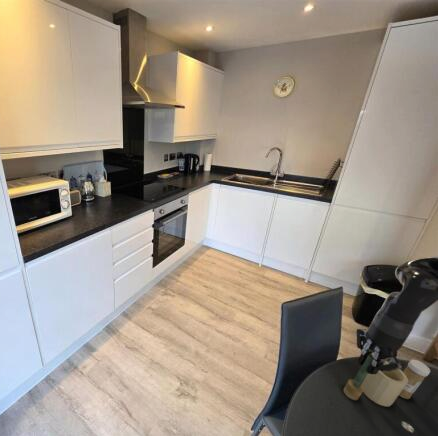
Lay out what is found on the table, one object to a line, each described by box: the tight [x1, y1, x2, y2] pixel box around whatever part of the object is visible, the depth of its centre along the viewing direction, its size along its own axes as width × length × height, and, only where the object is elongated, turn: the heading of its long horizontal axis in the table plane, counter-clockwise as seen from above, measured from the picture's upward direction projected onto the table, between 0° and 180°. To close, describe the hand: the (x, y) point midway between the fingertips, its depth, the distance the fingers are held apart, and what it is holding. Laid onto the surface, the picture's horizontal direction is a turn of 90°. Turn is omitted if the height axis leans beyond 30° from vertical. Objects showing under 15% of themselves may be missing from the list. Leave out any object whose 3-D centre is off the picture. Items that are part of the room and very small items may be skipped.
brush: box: [343, 354, 373, 401], centre depth 78 cm, size 4×4×18 cm
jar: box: [362, 360, 408, 407], centre depth 80 cm, size 8×8×11 cm
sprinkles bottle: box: [398, 359, 431, 400], centre depth 80 cm, size 5×5×13 cm
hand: (366, 368), depth 76 cm, fingers closed
